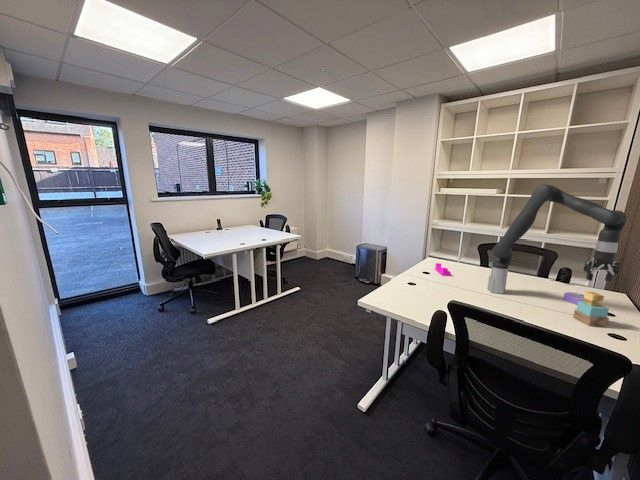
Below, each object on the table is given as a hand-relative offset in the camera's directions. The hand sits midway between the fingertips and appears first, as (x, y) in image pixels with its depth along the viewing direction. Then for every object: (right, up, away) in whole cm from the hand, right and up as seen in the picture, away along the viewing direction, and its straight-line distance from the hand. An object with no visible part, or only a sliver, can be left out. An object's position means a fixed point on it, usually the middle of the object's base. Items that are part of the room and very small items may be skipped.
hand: (598, 280), depth 135 cm
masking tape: (+18, -18, +30) cm, 40 cm away
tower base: (0, -23, +5) cm, 23 cm away
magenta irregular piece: (-43, -8, +81) cm, 92 cm away
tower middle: (0, -18, +4) cm, 18 cm away
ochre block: (0, -13, +3) cm, 13 cm away
